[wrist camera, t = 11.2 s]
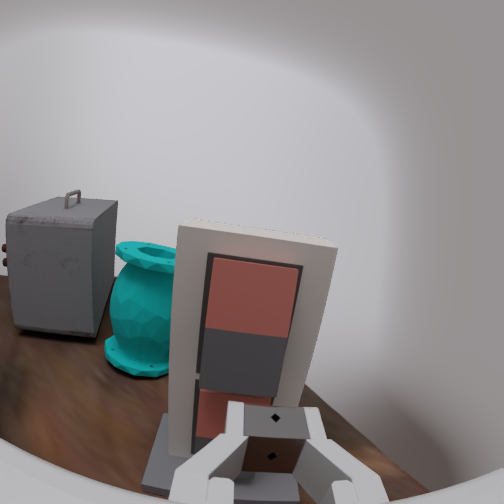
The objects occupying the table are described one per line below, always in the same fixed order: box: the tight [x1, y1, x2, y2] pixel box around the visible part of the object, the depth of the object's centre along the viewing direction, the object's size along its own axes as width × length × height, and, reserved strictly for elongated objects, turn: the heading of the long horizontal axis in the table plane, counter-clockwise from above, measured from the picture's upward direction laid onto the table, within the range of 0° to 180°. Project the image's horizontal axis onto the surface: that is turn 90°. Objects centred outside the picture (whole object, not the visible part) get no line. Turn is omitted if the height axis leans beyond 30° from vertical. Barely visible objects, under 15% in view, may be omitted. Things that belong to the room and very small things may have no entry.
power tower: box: [142, 219, 338, 504], centre depth 27 cm, size 12×16×27 cm
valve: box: [104, 241, 176, 377], centre depth 52 cm, size 14×18×30 cm
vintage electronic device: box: [2, 190, 118, 340], centre depth 58 cm, size 32×18×25 cm, turn 17°
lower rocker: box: [194, 389, 271, 479], centre depth 25 cm, size 1×6×10 cm, turn 91°
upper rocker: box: [199, 257, 299, 397], centre depth 23 cm, size 1×6×10 cm, turn 91°
